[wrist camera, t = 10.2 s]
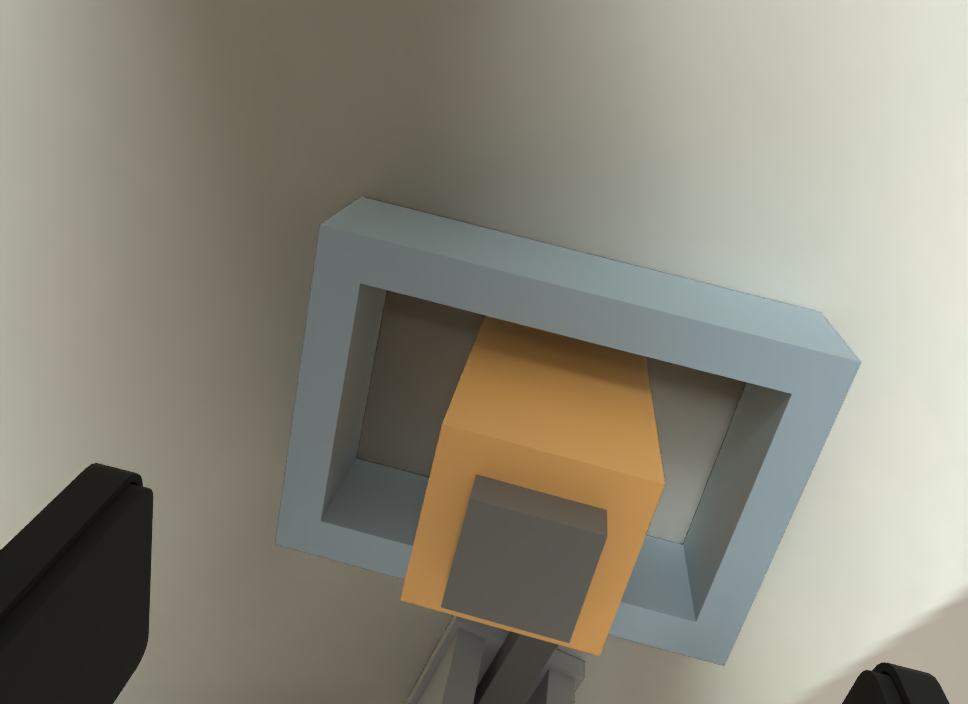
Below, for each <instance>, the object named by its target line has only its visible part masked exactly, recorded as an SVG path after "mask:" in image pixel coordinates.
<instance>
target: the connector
mask: <svg viewBox="0 0 968 704" xmlns="http://www.w3.org/2000/svg"><path fill="white" fill-rule="evenodd" d="M664 486H665V480H664V474H663V467H662V461H661V454H660V447H659V441H658V434H657V427H656V421H655V414H654V408H653V401H652V394H651V388H650V381H649V375H648V368H647V361H646V356H642V355H638V354H634V353H630V352H626V351H622V350H619V349H615V348H611V347H607V346H603V345H599V344H595V343H591V342H587V341H583V340H580V339H576V338H572V337H568V336H564V335H560V334H556V333H552V332H548V331H544V330H541V329H537V328H533V327H529V326H525V325H521V324H517V323H513V322H509V321H505V320H501V319H498V318H494V317H490V316H486V315H485V317H484V320H483V322H482V325H481V327H480V330H479V332H478V335H477V337H476V340H475V342H474V345H473V347H472V350H471V352H470V355H469V357H468V360H467V362H466V365H465V368H464V370H463V373H462V375H461V378H460V380H459V383H458V385H457V388H456V390H455V393H454V395H453V398H452V400H451V403H450V405H449V408H448V410H447V413H446V415H445V418H444V420H443V423H442V426H441V431H440V435H439V439H438V443H437V447H436V452H435V456H434V460H433V464H432V468H431V473H430V477H429V481H428V485H427V489H426V494H425V498H424V502H423V506H422V510H421V514H420V519H419V523H418V527H417V531H416V535H415V540H414V544H413V548H412V552H411V556H410V561H409V565H408V569H407V573H406V577H405V582H404V586H403V590H402V594H401V598H400V600H401V601H404V602H408V603H411V604H415V605H419V606H422V607H426V608H429V609H433V610H436V611H440V612H444V613H447V614H451V615H454V616H458V617H461V618H465V619H469V620H472V621H476V622H479V623H483V624H486V625H490V626H494V627H497V628H501V629H504V630H508V631H511V632H515V633H519V634H522V635H526V636H529V637H533V638H537V639H540V640H544V641H547V642H551V643H554V644H558V645H562V646H565V647H569V648H572V649H576V650H579V651H583V652H587V653H590V654H594V655H597V656H600V654H601V652H602V649H603V646H604V644H605V641H606V639H607V636H608V633H609V631H610V628H611V625H612V623H613V620H614V617H615V615H616V612H617V610H618V607H619V604H620V602H621V599H622V596H623V594H624V591H625V589H626V586H627V583H628V581H629V578H630V575H631V573H632V570H633V568H634V565H635V562H636V560H637V557H638V554H639V552H640V549H641V547H642V544H643V541H644V539H645V536H646V533H647V531H648V528H649V526H650V523H651V520H652V518H653V515H654V512H655V510H656V507H657V505H658V502H659V499H660V497H661V494H662V491H663V489H664Z"/></svg>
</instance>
